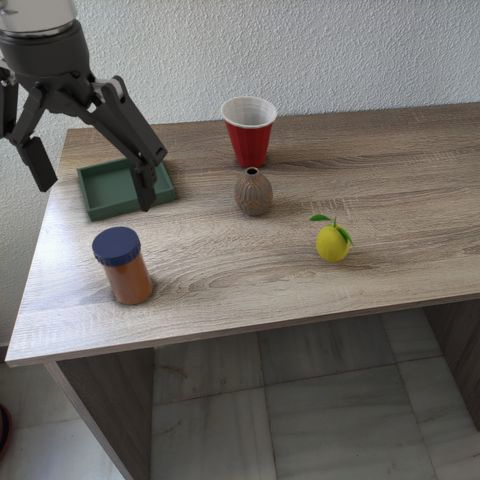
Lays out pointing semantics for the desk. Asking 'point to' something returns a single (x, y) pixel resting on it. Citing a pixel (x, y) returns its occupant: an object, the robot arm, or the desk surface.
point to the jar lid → (116, 246)
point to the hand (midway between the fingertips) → (98, 195)
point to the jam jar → (130, 281)
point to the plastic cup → (249, 128)
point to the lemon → (332, 240)
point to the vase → (253, 192)
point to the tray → (117, 188)
